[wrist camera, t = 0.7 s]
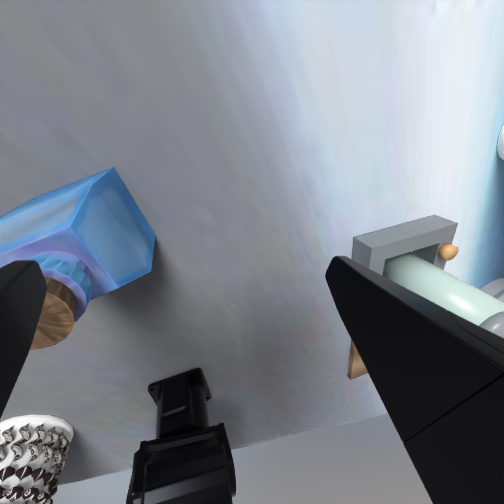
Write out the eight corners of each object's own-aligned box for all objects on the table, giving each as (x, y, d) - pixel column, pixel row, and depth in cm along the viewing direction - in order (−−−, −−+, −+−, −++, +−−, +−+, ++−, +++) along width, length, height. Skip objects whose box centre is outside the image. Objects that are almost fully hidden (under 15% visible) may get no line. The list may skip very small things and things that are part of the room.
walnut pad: (405, 352, 44) (409, 356, 44) (347, 375, 42) (350, 379, 42) (419, 303, 38) (424, 306, 38) (353, 326, 36) (356, 330, 36)
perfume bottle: (155, 235, 22) (143, 334, 12) (87, 263, 21) (12, 395, 11) (113, 167, 18) (45, 222, 8) (32, 198, 18) (-148, 299, 8)
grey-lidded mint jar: (401, 276, 34) (512, 349, 23) (368, 287, 33) (466, 369, 22) (409, 241, 31) (538, 306, 20) (372, 252, 30) (487, 326, 19)
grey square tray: (415, 287, 36) (440, 304, 33) (347, 310, 34) (366, 330, 31) (434, 214, 30) (467, 226, 27) (353, 237, 28) (378, 252, 25)
